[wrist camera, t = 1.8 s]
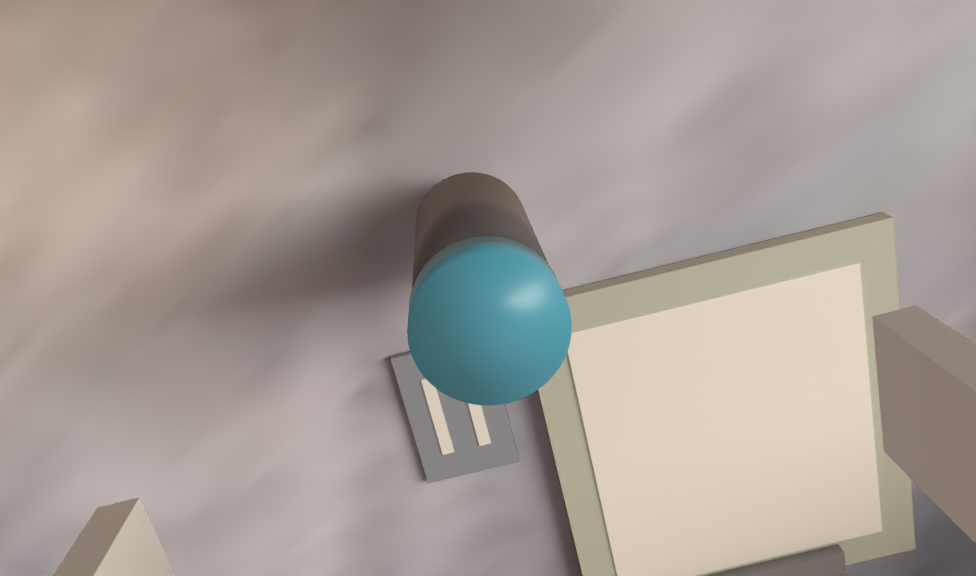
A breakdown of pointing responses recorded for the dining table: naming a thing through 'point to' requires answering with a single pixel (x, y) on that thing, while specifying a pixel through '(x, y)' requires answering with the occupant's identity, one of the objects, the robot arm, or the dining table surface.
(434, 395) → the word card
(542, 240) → the dining table surface
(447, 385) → the marker
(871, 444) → the cream square framed board
